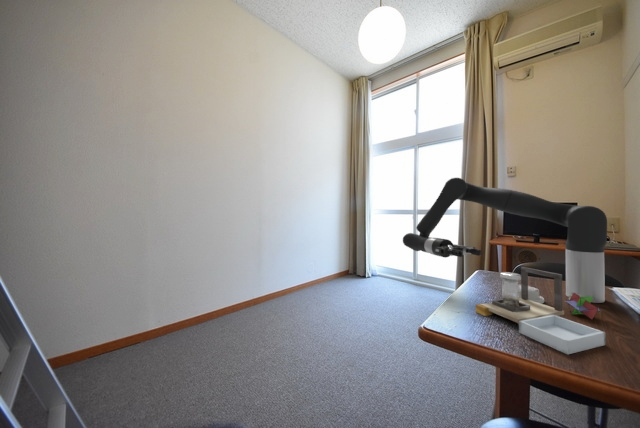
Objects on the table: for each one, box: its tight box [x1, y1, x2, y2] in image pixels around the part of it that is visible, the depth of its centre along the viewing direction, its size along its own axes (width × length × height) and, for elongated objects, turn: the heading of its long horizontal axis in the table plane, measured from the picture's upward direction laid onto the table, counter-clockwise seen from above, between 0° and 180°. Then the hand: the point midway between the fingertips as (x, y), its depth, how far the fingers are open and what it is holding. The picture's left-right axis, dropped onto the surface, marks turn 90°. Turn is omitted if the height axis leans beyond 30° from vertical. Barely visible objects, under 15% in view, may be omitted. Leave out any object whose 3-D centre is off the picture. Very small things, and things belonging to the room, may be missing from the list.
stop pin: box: [499, 271, 521, 308], centre depth 72 cm, size 5×5×10 cm
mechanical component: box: [519, 284, 545, 305], centre depth 85 cm, size 10×4×10 cm
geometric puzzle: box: [564, 292, 602, 320], centre depth 70 cm, size 7×7×8 cm
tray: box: [518, 315, 606, 355], centre depth 58 cm, size 13×10×3 cm
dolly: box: [475, 266, 565, 325], centre depth 71 cm, size 20×12×13 cm, turn 105°
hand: (471, 253), depth 85 cm, fingers open, 8 cm apart
